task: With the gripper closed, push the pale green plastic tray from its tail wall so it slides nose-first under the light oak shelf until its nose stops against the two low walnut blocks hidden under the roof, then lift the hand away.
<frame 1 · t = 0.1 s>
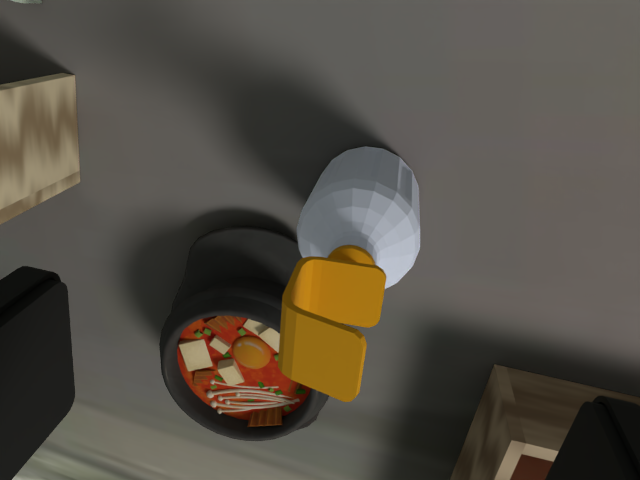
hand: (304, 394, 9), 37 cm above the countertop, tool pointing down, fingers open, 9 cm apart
house: (573, 478, 56), touching open wooden box
casserole: (262, 327, 55), on the countertop
open wooden box: (573, 478, 56), on the countertop
soap bottle: (368, 194, 46), on the countertop
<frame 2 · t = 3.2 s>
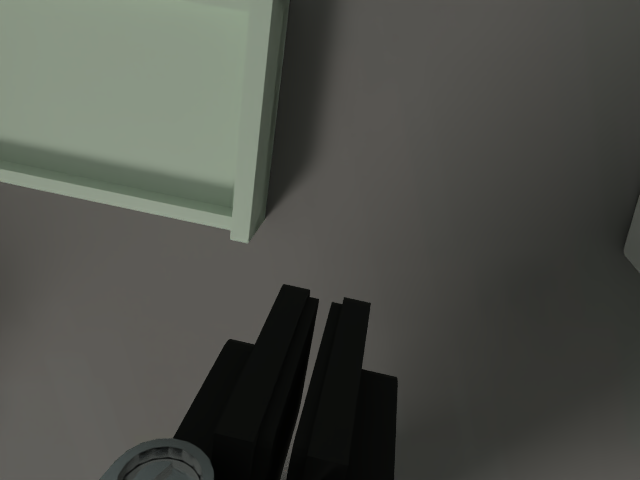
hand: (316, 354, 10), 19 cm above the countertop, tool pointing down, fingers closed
tray: (103, 85, 29), on the countertop
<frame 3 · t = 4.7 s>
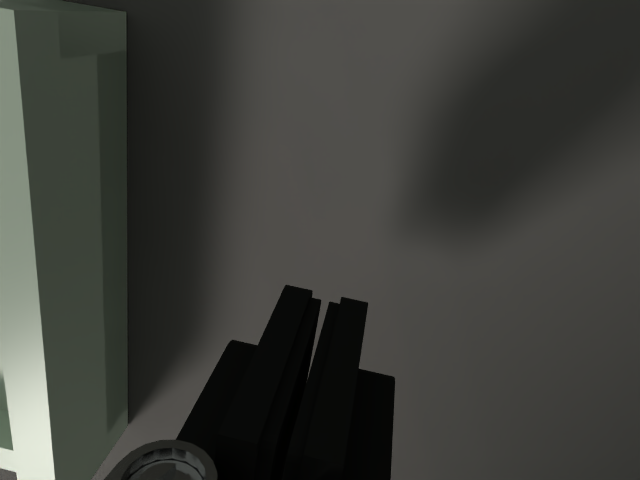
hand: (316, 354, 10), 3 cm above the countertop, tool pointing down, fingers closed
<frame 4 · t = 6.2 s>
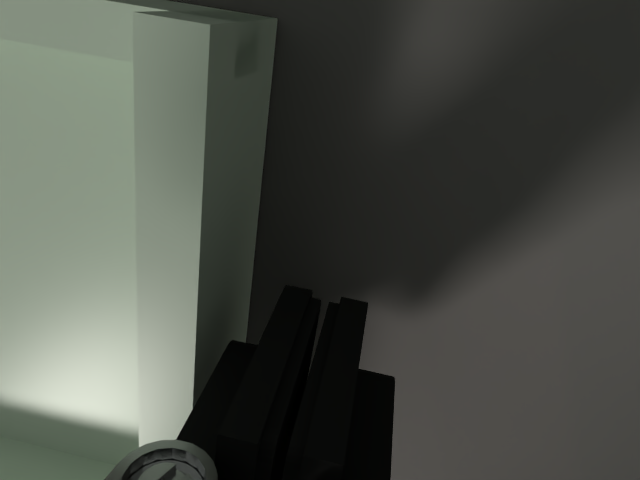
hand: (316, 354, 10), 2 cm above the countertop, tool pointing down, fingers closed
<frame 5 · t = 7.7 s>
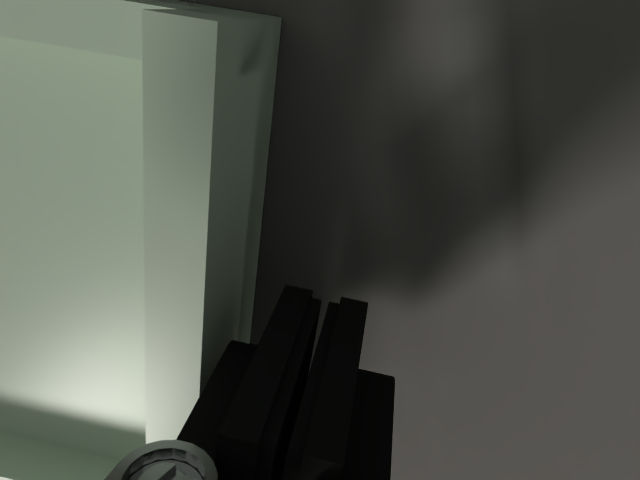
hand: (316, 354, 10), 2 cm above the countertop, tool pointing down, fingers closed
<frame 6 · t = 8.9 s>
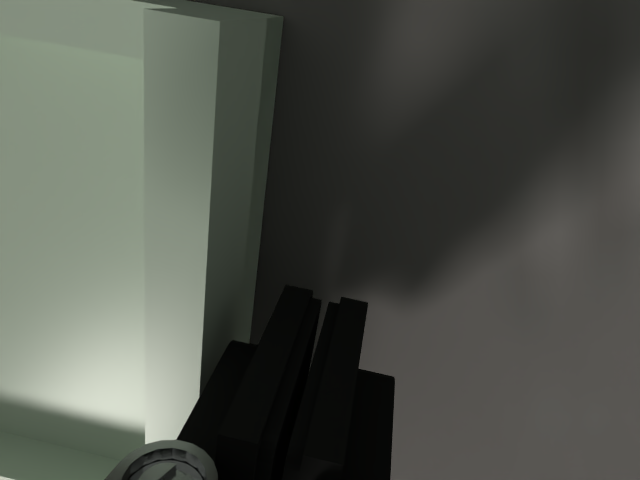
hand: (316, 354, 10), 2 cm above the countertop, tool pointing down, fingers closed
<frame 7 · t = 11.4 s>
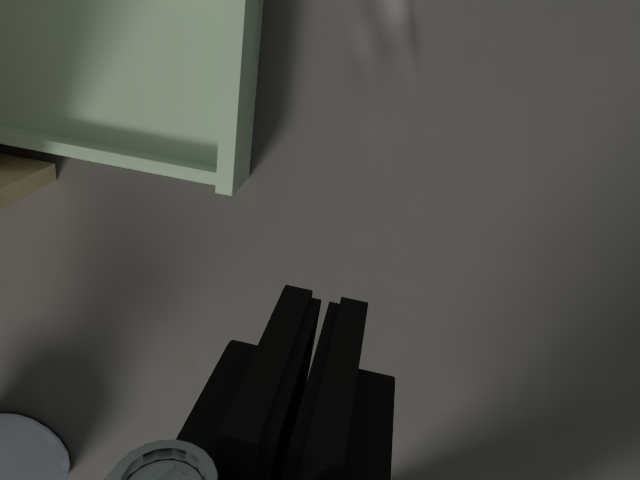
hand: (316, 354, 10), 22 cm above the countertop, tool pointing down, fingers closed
tray: (98, 54, 31), on the countertop
soap bottle: (28, 446, 48), on the countertop
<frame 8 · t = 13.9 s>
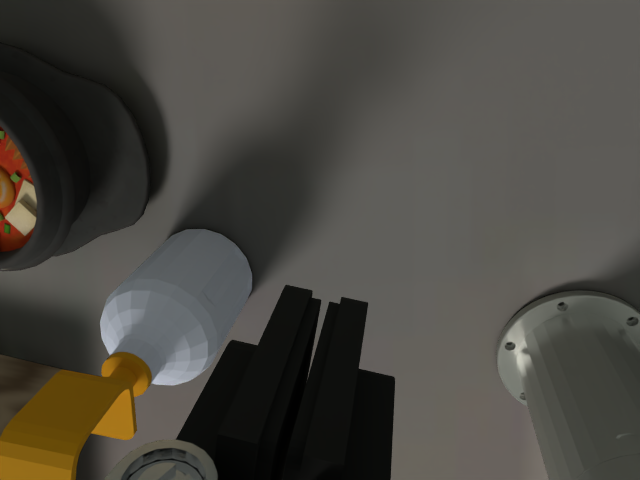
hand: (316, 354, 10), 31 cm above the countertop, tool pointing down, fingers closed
casserole: (27, 151, 45), on the countertop
soap bottle: (206, 271, 47), on the countertop
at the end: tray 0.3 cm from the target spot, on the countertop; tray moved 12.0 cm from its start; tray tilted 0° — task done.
